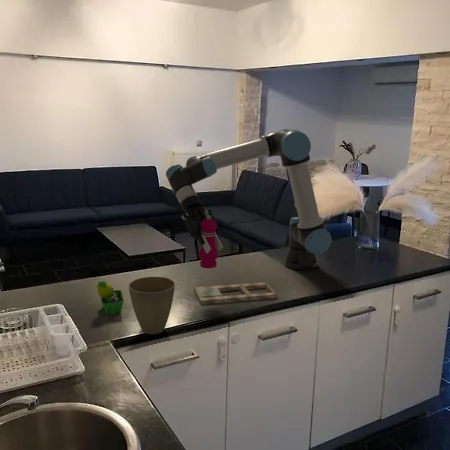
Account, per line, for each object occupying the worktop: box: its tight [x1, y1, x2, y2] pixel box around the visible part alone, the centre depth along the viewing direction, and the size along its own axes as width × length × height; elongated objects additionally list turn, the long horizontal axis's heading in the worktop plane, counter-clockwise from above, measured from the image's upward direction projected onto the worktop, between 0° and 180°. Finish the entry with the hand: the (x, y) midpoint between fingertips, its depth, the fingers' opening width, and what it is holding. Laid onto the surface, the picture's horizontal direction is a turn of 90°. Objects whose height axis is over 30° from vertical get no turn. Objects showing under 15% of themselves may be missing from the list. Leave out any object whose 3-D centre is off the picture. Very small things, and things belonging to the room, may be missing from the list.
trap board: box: [193, 281, 278, 305], centre depth 198 cm, size 30×14×2 cm, turn 104°
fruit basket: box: [96, 280, 125, 316], centre depth 181 cm, size 11×9×11 cm
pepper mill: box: [198, 215, 219, 269], centre depth 191 cm, size 7×7×20 cm
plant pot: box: [128, 276, 176, 335], centre depth 165 cm, size 15×15×16 cm
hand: (214, 249), depth 188 cm, fingers closed on pepper mill, 5 cm apart
